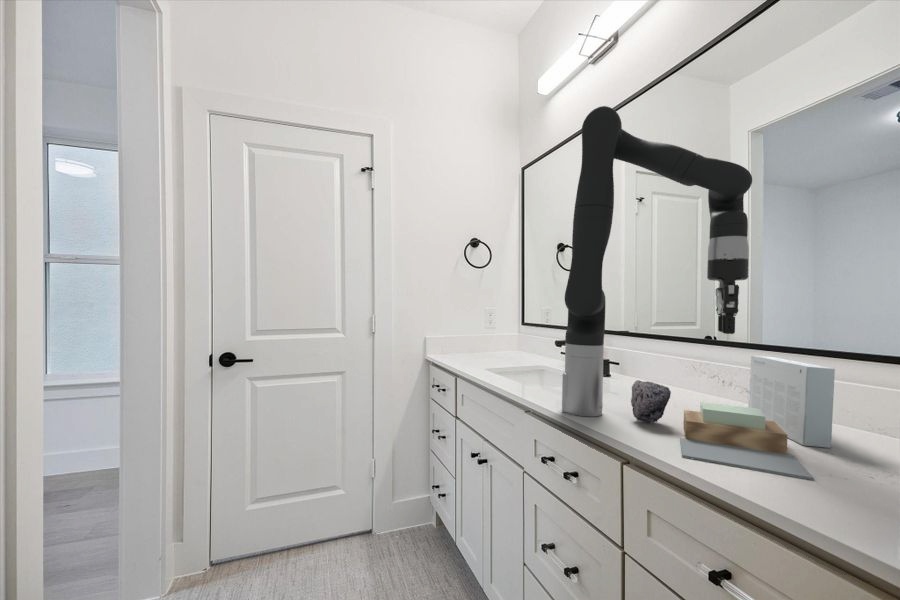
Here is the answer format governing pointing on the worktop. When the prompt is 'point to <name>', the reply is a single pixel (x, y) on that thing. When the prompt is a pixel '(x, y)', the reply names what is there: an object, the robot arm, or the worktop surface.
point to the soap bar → (732, 415)
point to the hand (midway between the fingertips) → (726, 332)
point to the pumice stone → (649, 401)
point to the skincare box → (794, 398)
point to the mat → (744, 458)
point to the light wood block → (735, 434)
